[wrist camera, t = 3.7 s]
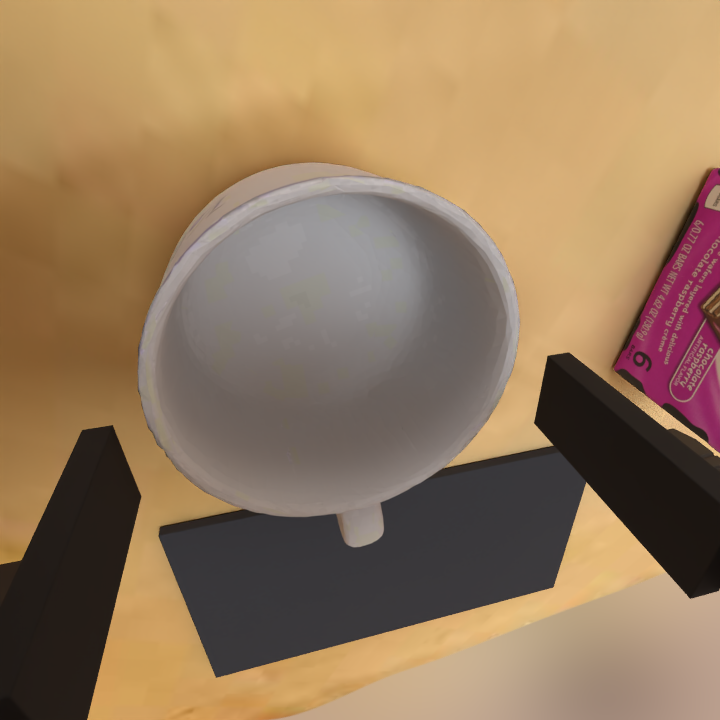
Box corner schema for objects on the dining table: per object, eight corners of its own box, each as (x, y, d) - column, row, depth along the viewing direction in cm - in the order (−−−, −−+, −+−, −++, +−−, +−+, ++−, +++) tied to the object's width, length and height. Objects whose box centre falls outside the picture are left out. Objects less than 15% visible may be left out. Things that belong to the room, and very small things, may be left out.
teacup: (156, 128, 15) (97, 161, 9) (453, 155, 18) (583, 195, 11) (191, 448, 22) (172, 605, 15) (402, 432, 25) (464, 560, 18)
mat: (216, 668, 32) (215, 678, 31) (159, 526, 24) (158, 536, 24) (549, 580, 37) (553, 587, 36) (592, 438, 29) (598, 444, 28)
